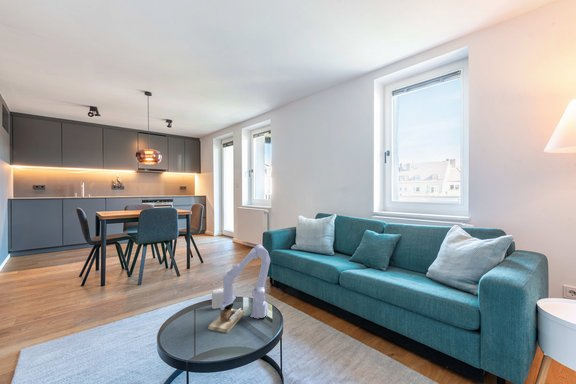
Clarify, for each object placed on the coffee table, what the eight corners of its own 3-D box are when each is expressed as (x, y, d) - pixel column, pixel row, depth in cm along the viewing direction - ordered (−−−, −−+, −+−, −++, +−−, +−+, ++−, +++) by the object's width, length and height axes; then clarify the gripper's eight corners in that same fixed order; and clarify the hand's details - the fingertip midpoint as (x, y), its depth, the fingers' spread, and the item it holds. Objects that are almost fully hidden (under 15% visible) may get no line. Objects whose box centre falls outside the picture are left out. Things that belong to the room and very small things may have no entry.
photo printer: (227, 304, 182) (227, 286, 181) (228, 307, 177) (227, 289, 177) (211, 306, 178) (211, 288, 178) (212, 309, 174) (211, 291, 174)
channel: (241, 311, 169) (241, 308, 168) (231, 321, 156) (231, 318, 156) (230, 309, 171) (230, 306, 171) (219, 319, 159) (219, 316, 158)
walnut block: (231, 317, 160) (230, 309, 160) (227, 321, 156) (227, 313, 155) (224, 316, 161) (224, 308, 161) (220, 320, 157) (220, 312, 156)
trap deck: (244, 313, 169) (244, 310, 169) (227, 332, 148) (227, 329, 148) (228, 311, 173) (228, 308, 172) (208, 329, 152) (208, 325, 151)
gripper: (228, 288, 169) (228, 309, 169) (215, 297, 155) (215, 320, 155) (238, 289, 166) (238, 310, 167) (226, 299, 153) (226, 322, 153)
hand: (228, 315), depth 161 cm, fingers closed, pressing on walnut block
